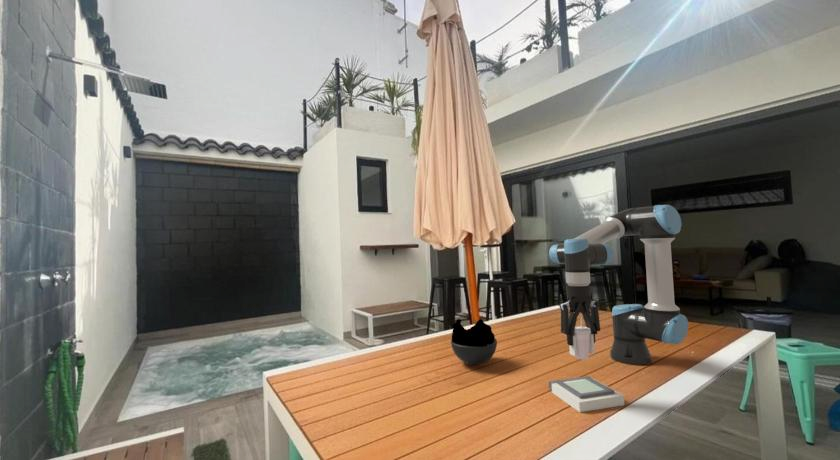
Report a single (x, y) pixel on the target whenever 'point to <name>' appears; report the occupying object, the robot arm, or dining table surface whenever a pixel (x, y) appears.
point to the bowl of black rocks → (473, 342)
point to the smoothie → (582, 341)
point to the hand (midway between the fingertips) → (582, 353)
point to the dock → (586, 393)
